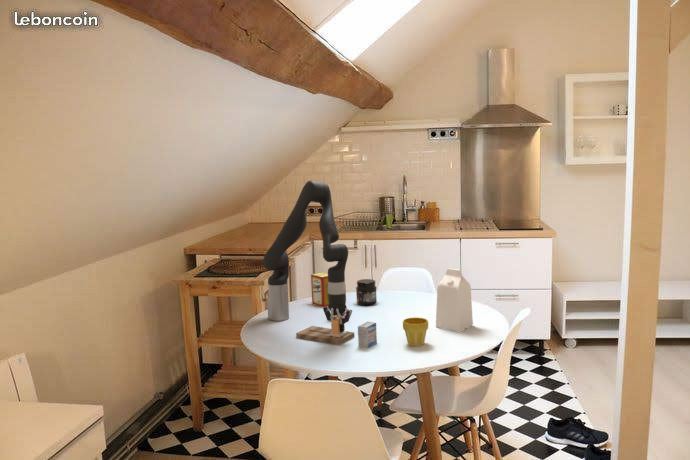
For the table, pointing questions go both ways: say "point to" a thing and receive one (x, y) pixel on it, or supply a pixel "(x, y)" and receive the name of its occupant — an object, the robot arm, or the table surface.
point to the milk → (454, 302)
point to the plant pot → (415, 330)
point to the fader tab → (336, 328)
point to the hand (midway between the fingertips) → (338, 331)
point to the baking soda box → (320, 289)
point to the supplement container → (366, 292)
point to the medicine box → (367, 334)
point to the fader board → (323, 335)
